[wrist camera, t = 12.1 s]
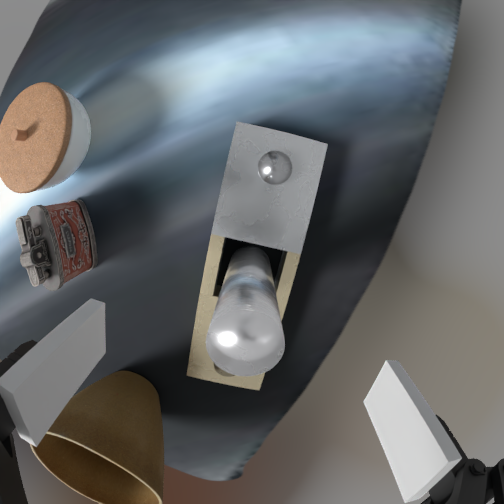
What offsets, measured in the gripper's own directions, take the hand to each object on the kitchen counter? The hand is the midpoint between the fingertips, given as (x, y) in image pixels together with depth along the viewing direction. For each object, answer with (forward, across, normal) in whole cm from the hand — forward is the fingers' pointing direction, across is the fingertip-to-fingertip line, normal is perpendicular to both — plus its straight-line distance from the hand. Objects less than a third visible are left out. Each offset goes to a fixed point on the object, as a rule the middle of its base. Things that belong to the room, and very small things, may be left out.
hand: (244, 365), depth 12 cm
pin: (+17, 0, -1) cm, 17 cm away
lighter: (+18, -19, -2) cm, 26 cm away
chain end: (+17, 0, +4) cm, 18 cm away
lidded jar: (+18, -23, +8) cm, 30 cm away
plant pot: (+17, -11, -22) cm, 30 cm away
